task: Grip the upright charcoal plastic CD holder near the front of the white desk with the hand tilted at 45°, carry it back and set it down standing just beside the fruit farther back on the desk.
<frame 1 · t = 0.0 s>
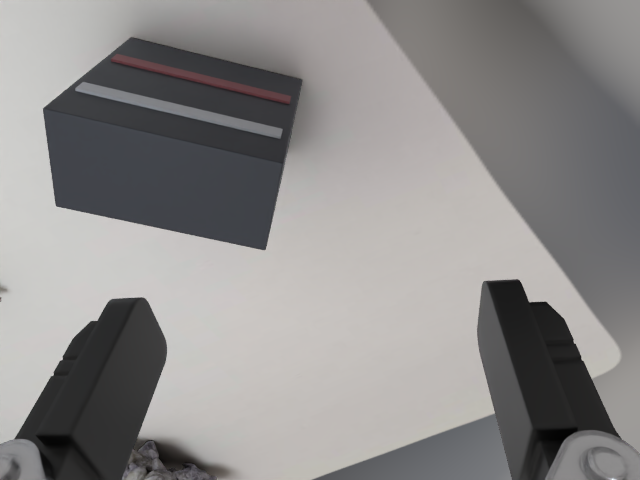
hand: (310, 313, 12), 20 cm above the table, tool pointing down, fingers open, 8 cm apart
cd holder: (214, 99, 30), on the table
mineral specimen: (173, 457, 58), on the table
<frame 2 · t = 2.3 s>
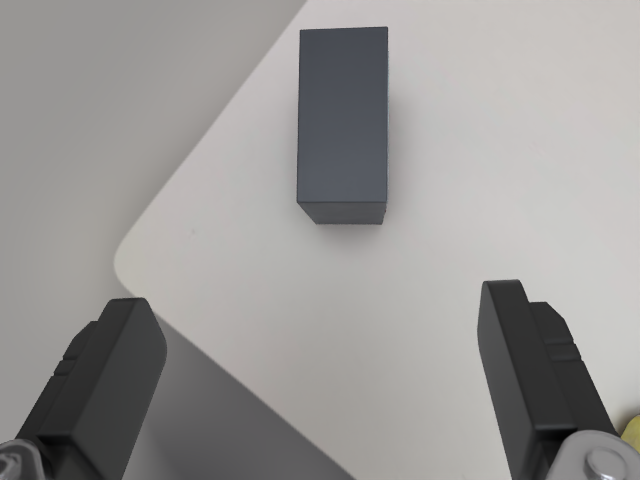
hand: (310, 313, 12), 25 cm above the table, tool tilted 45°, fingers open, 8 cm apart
cd holder: (349, 159, 37), on the table
fruit: (639, 446, 33), on the table
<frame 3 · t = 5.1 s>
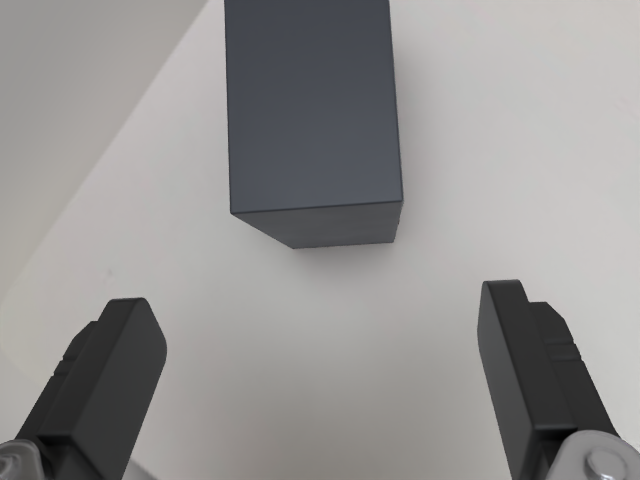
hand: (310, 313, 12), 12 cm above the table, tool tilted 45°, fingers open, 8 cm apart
cd holder: (336, 146, 24), on the table
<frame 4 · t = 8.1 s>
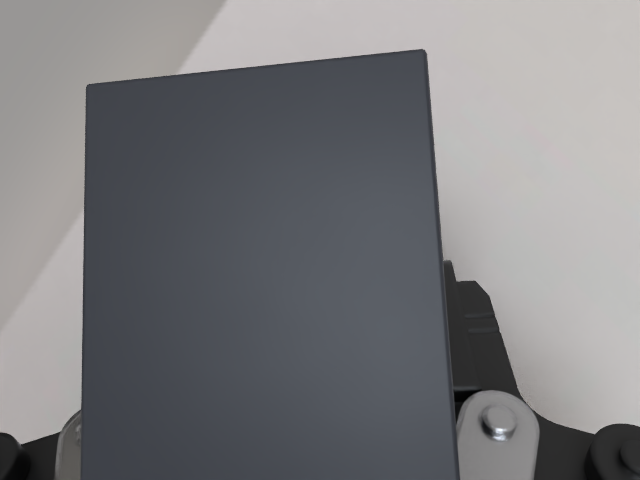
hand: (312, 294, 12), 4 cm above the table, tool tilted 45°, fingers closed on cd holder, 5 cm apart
cd holder: (333, 350, 16), on the table, touching gripper
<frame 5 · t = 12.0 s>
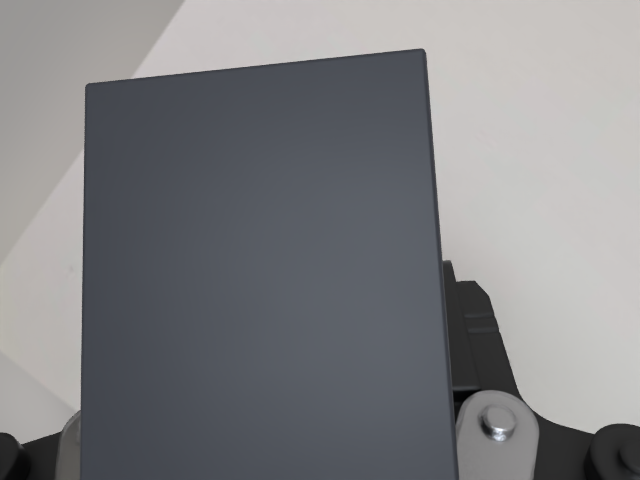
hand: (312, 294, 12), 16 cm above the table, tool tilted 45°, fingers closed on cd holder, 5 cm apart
cd holder: (332, 349, 16), point 12 cm above the table, touching gripper
when the fingers open (4 cm above the table, at t = 16.0 s): cd holder stays where it is, on the table.
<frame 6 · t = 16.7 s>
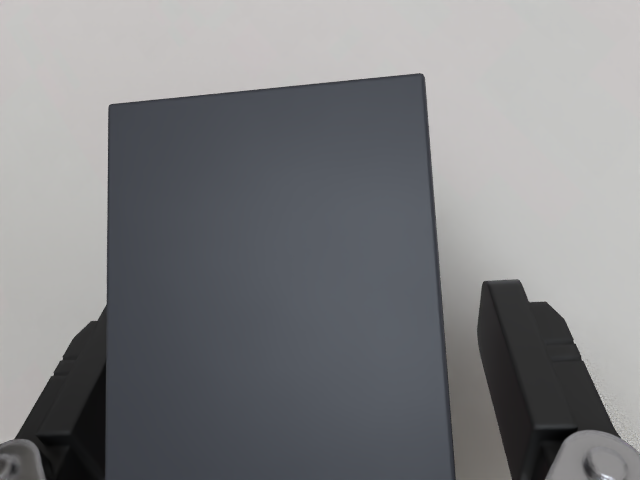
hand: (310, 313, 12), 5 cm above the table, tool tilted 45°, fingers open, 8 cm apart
cd holder: (336, 350, 17), on the table
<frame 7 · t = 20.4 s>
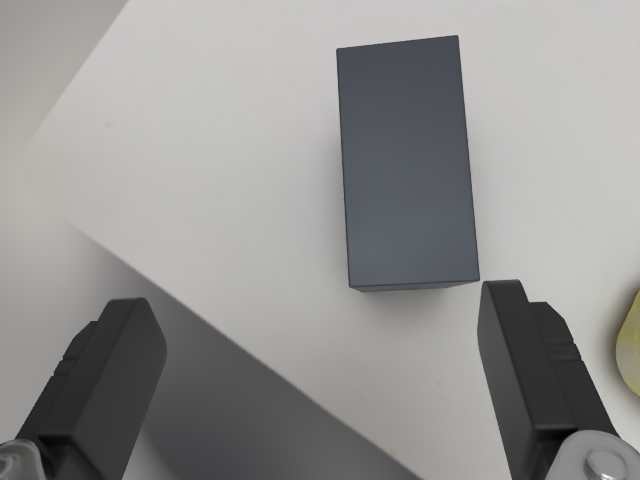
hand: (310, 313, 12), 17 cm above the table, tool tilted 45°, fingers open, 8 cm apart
cd holder: (398, 206, 29), on the table
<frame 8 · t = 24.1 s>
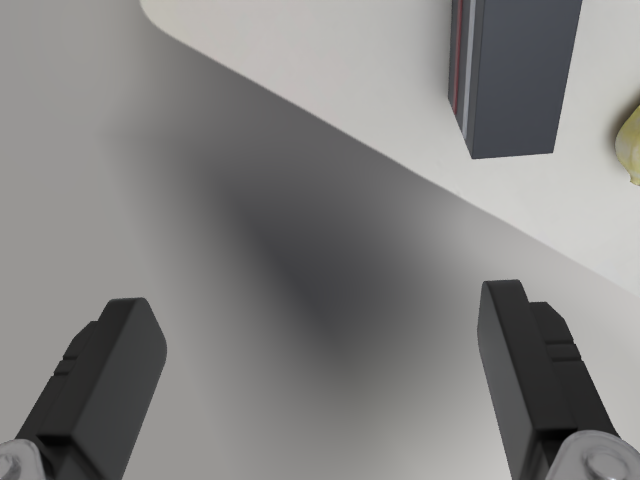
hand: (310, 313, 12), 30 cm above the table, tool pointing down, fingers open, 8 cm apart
cd holder: (485, 30, 36), on the table
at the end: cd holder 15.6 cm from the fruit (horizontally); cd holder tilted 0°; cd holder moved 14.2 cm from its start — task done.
